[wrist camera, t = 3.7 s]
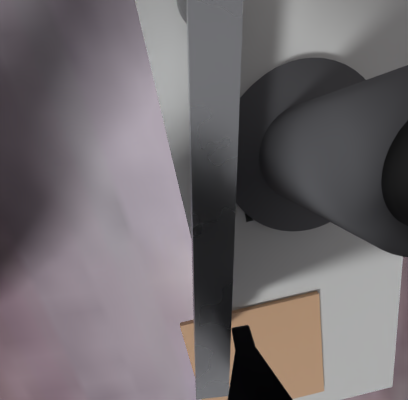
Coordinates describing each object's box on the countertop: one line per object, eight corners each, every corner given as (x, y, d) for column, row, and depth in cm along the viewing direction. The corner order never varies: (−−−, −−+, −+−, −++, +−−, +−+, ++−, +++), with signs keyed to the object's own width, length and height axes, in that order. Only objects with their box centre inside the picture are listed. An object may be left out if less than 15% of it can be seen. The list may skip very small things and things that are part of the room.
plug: (221, 216, 12) (300, 375, 4) (200, 99, 10) (257, -84, 2) (326, 193, 12) (619, 297, 4) (322, 75, 10) (833, -184, 2)
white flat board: (207, 377, 15) (212, 436, 12) (82, -80, 8) (20, -216, 5) (354, 342, 16) (395, 390, 13) (357, -128, 8) (454, -283, 5)
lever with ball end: (187, 334, 10) (188, 418, 7) (174, -38, 6) (164, -215, 3) (223, 331, 10) (240, 412, 7) (232, -34, 6) (276, -200, 3)
